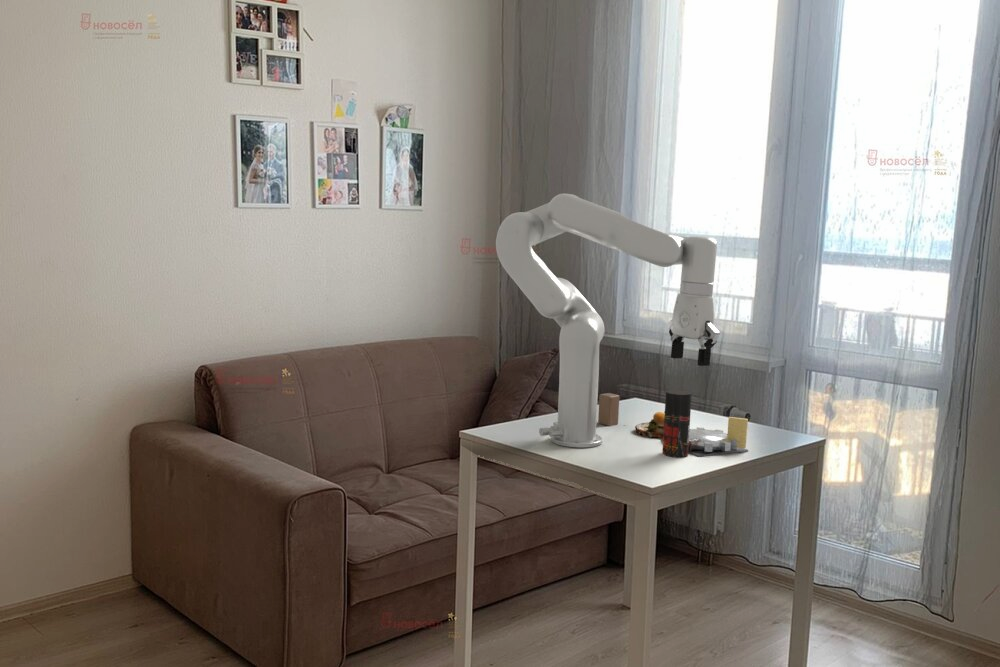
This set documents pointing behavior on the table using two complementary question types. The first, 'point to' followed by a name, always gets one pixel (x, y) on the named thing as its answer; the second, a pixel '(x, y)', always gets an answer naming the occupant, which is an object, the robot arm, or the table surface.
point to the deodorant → (676, 423)
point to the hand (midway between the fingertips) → (689, 361)
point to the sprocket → (720, 436)
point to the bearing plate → (714, 451)
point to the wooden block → (608, 409)
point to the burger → (652, 426)
